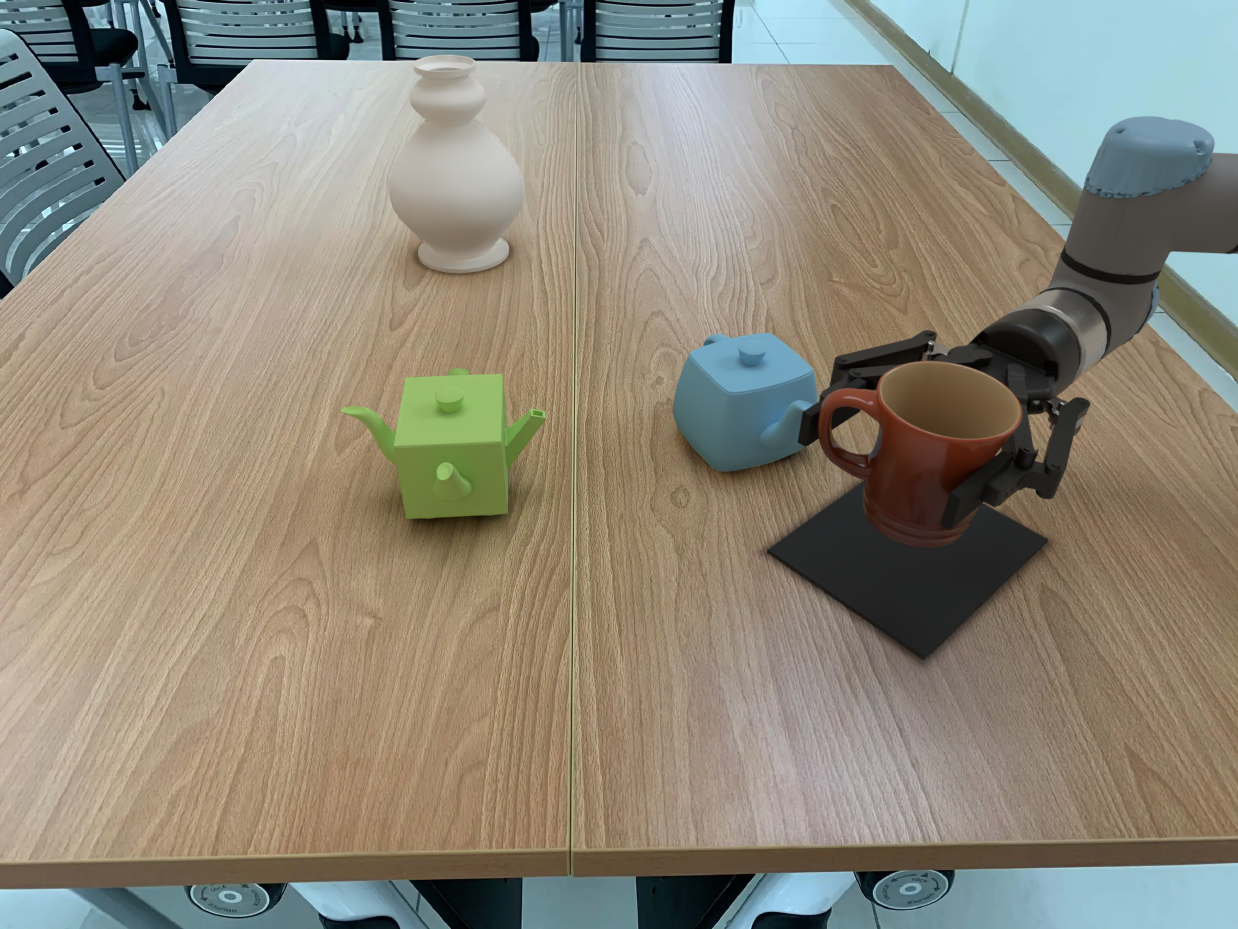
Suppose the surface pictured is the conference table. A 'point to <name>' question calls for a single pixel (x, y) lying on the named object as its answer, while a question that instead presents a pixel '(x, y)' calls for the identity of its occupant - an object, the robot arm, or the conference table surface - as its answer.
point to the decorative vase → (455, 172)
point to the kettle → (452, 444)
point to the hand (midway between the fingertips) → (873, 468)
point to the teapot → (743, 400)
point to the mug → (922, 444)
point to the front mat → (906, 569)
